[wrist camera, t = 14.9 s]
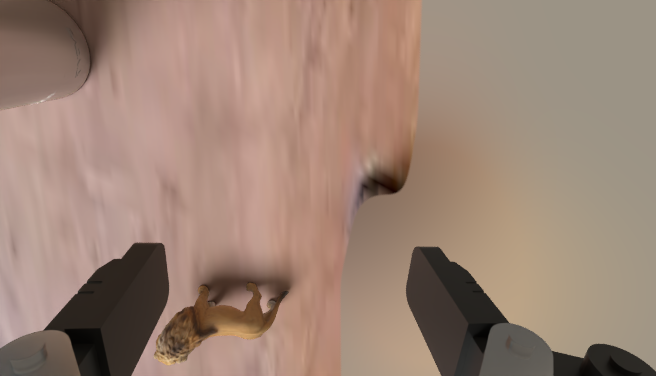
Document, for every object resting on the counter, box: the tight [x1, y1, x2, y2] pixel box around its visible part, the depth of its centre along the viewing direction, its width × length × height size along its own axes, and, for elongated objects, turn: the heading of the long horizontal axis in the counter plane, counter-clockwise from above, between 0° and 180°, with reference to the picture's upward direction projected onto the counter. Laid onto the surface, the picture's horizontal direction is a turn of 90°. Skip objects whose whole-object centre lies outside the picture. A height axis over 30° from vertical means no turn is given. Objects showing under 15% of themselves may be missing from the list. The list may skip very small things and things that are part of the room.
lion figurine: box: [154, 283, 289, 365], centre depth 41 cm, size 15×5×9 cm, turn 96°
